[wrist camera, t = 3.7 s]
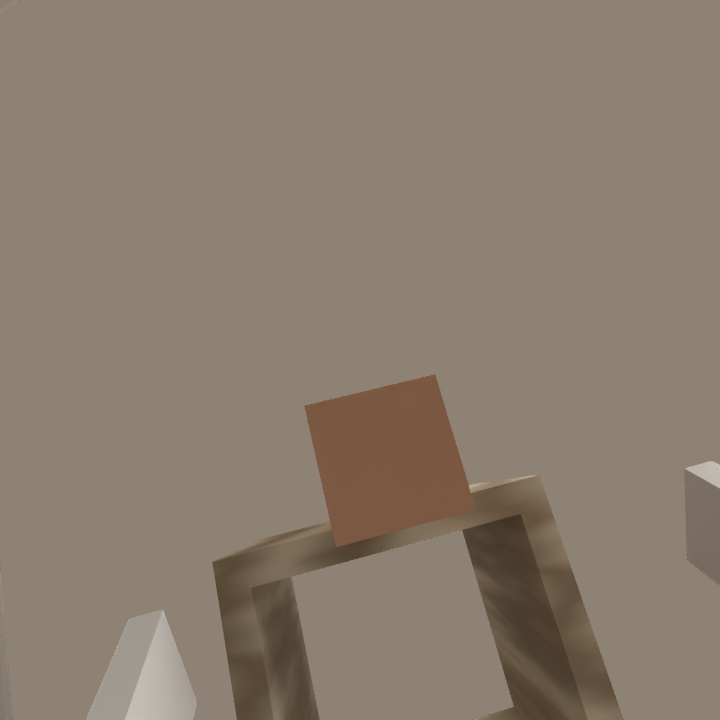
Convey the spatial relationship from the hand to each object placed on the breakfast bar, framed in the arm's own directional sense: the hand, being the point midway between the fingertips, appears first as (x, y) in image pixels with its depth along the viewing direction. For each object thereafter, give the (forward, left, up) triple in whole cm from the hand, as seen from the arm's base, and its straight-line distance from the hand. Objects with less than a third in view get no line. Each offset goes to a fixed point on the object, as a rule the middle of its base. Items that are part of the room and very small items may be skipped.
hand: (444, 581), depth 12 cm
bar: (0, +13, +1) cm, 13 cm away
